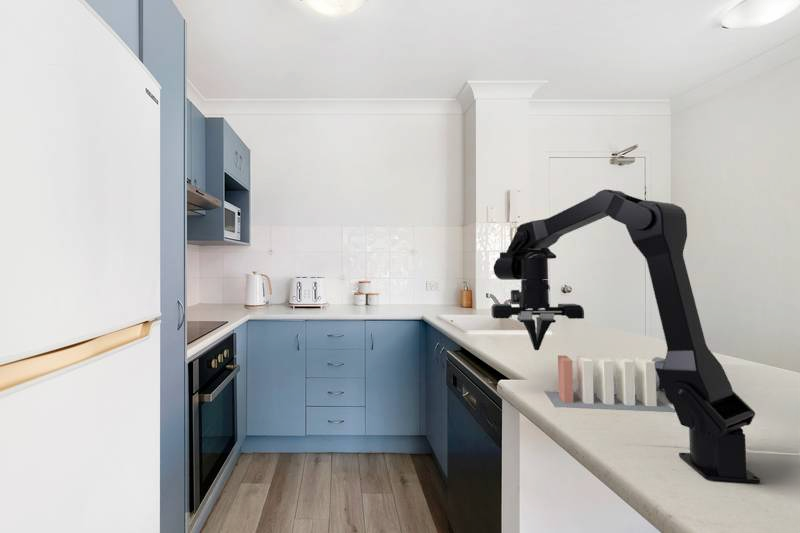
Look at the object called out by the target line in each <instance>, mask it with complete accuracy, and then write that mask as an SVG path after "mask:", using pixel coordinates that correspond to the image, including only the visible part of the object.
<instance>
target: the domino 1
mask: <svg viewBox="0 0 800 533" xmlns="http://www.w3.org/2000/svg"><path fill="white" fill-rule="evenodd" d="M557 366H558V367H557V371H558V372H557V374H558V375H557V376H558V392H559V396H560V398H561V399H562V400H563V401H564V403H573V392H574V377H573V376H574V373H573V359H571V358H569V357H568V356H567V355H557Z"/></svg>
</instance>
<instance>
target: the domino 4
mask: <svg viewBox="0 0 800 533" xmlns="http://www.w3.org/2000/svg"><path fill="white" fill-rule="evenodd" d="M615 381H616V382H615V384H616V387H615V388H616V389H615V390H616V394H617V399H619V400H620V401H621V402H622V403H624V404H625V405H634V406H635V395H636V391H635V390H636V389H635V388H636V380H635V361H633V360H632V359H629V358H627V357H625V356H615Z"/></svg>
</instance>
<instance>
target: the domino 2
mask: <svg viewBox="0 0 800 533" xmlns="http://www.w3.org/2000/svg"><path fill="white" fill-rule="evenodd" d="M593 367H594V365H593V360H592V359H590V358H589V357H587V355H577V356H576V369H577V370H576V371H577V372H576V376H577V377H576V379H577V381H576V382H577V392H578V397H579V398H580V399H581V400H582V401H583V402H584V403H587V404H594V397H593V393H594V372H593V371H594V369H593Z"/></svg>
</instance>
